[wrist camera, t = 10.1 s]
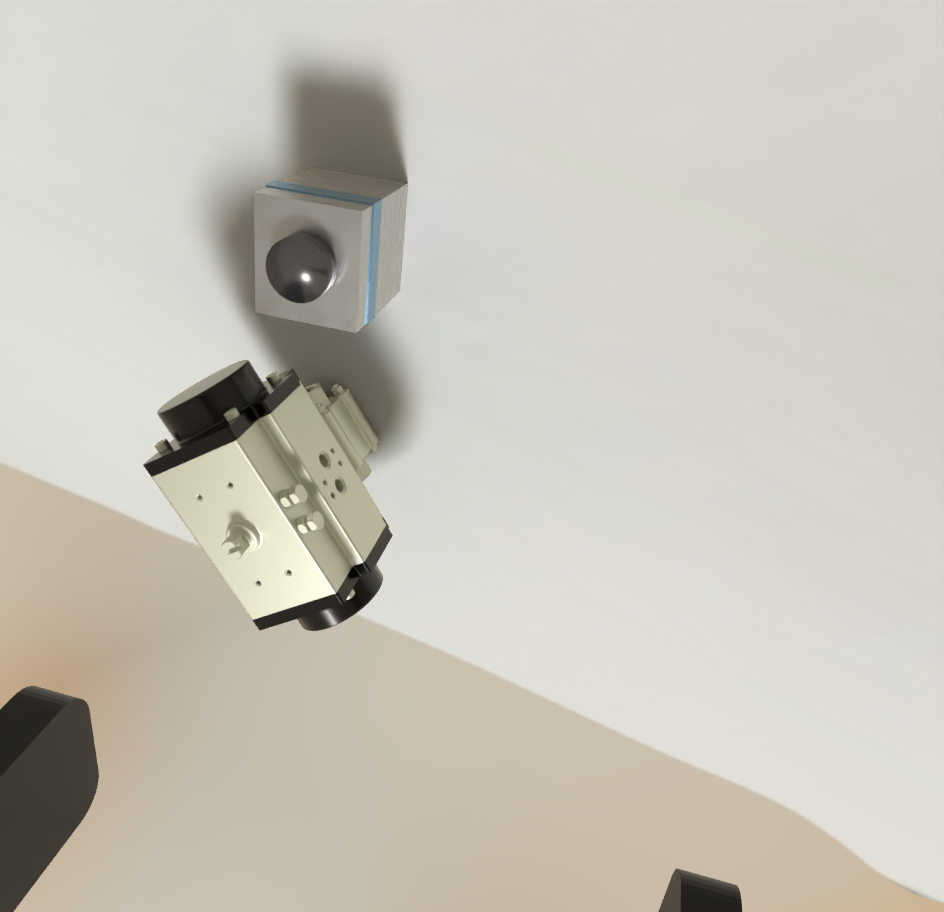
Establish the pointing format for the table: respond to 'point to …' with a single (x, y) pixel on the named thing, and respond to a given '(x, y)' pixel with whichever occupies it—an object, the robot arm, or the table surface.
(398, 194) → the grey box with knob
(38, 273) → the table surface
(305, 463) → the pneumatic valve
